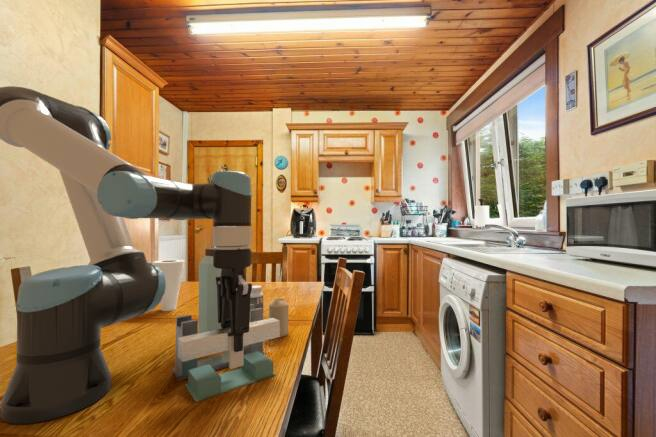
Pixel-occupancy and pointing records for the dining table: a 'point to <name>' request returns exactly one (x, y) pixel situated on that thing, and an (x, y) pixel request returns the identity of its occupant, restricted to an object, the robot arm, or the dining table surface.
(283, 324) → the candle
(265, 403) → the dining table surface
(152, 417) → the dining table surface
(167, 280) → the cup
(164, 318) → the dining table surface
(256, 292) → the pill bottle
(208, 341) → the rail
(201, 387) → the rest
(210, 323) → the water bottle
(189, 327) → the stand
